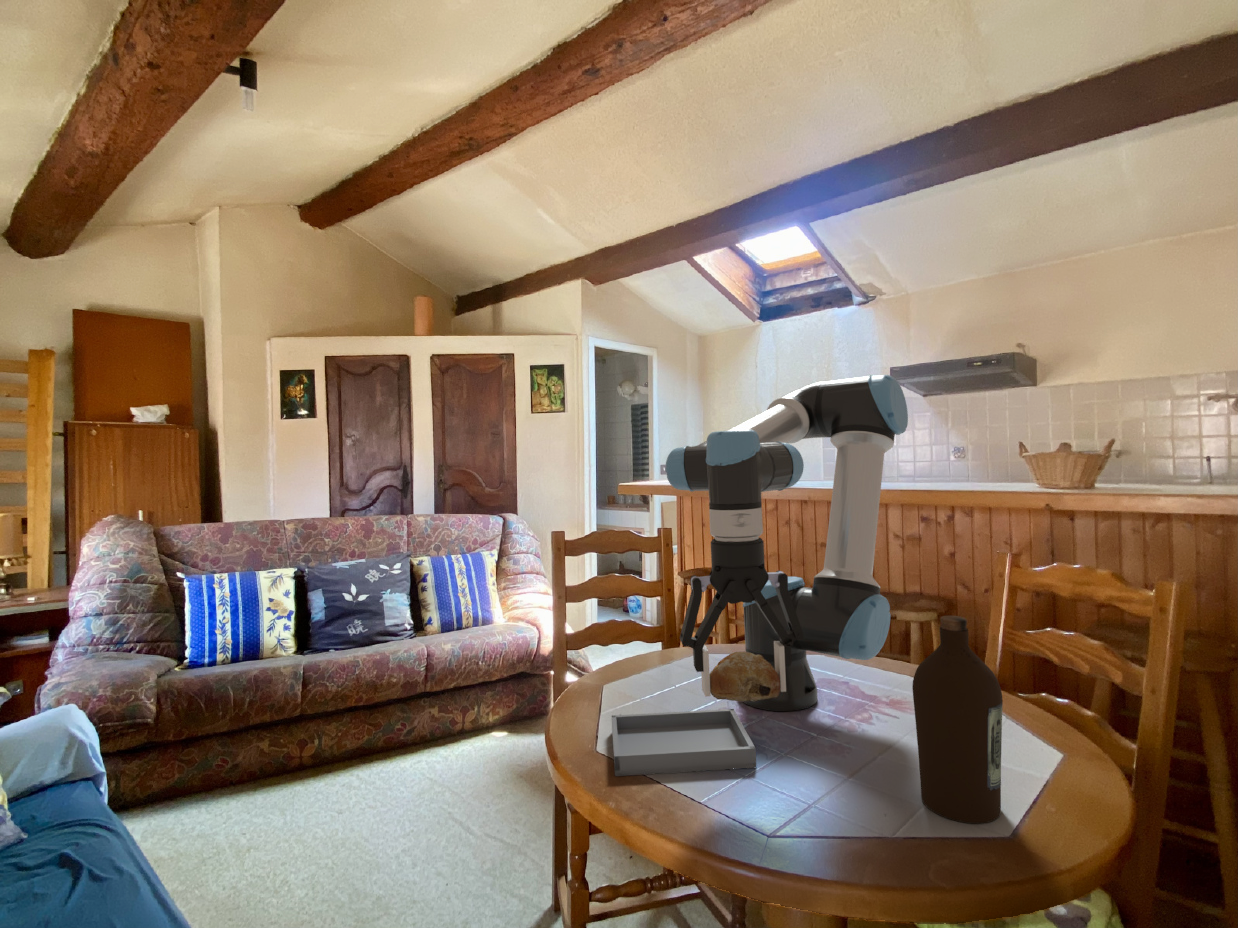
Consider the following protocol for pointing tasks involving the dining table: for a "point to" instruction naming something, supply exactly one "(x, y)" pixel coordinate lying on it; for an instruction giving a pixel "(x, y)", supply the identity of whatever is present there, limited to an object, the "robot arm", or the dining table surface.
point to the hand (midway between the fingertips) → (743, 690)
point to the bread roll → (744, 678)
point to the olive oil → (958, 729)
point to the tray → (680, 742)
